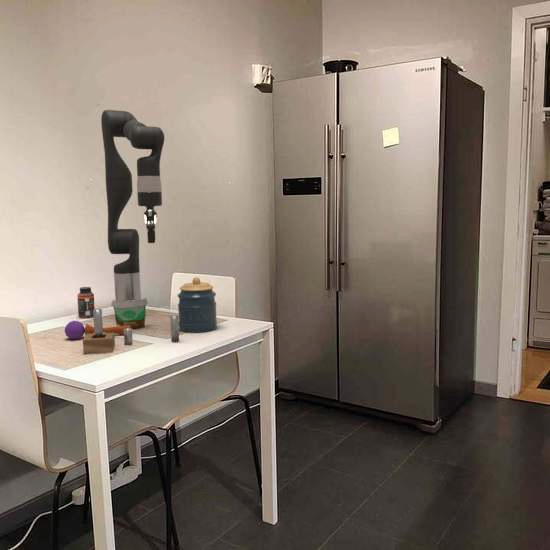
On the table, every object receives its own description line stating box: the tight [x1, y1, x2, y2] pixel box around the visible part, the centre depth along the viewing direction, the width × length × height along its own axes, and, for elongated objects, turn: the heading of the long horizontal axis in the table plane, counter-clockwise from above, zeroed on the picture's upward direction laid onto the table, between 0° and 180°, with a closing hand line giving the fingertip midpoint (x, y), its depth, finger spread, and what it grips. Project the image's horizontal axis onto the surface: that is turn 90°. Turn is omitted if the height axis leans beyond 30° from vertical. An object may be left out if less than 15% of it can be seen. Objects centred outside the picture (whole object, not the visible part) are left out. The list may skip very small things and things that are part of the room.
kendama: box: [64, 320, 130, 340], centre depth 177 cm, size 6×6×20 cm
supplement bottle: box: [77, 286, 96, 319], centre depth 209 cm, size 6×6×11 cm
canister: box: [177, 276, 218, 333], centre depth 186 cm, size 13×13×18 cm
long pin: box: [93, 308, 104, 338], centre depth 161 cm, size 2×2×12 cm
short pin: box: [123, 328, 134, 346], centre depth 167 cm, size 2×2×5 cm
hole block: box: [82, 332, 116, 355], centre depth 162 cm, size 8×8×4 cm
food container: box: [110, 297, 149, 331], centre depth 188 cm, size 12×6×10 cm, turn 114°
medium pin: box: [169, 314, 180, 343], centre depth 170 cm, size 2×2×8 cm
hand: (151, 242), depth 177 cm, fingers open, 8 cm apart
